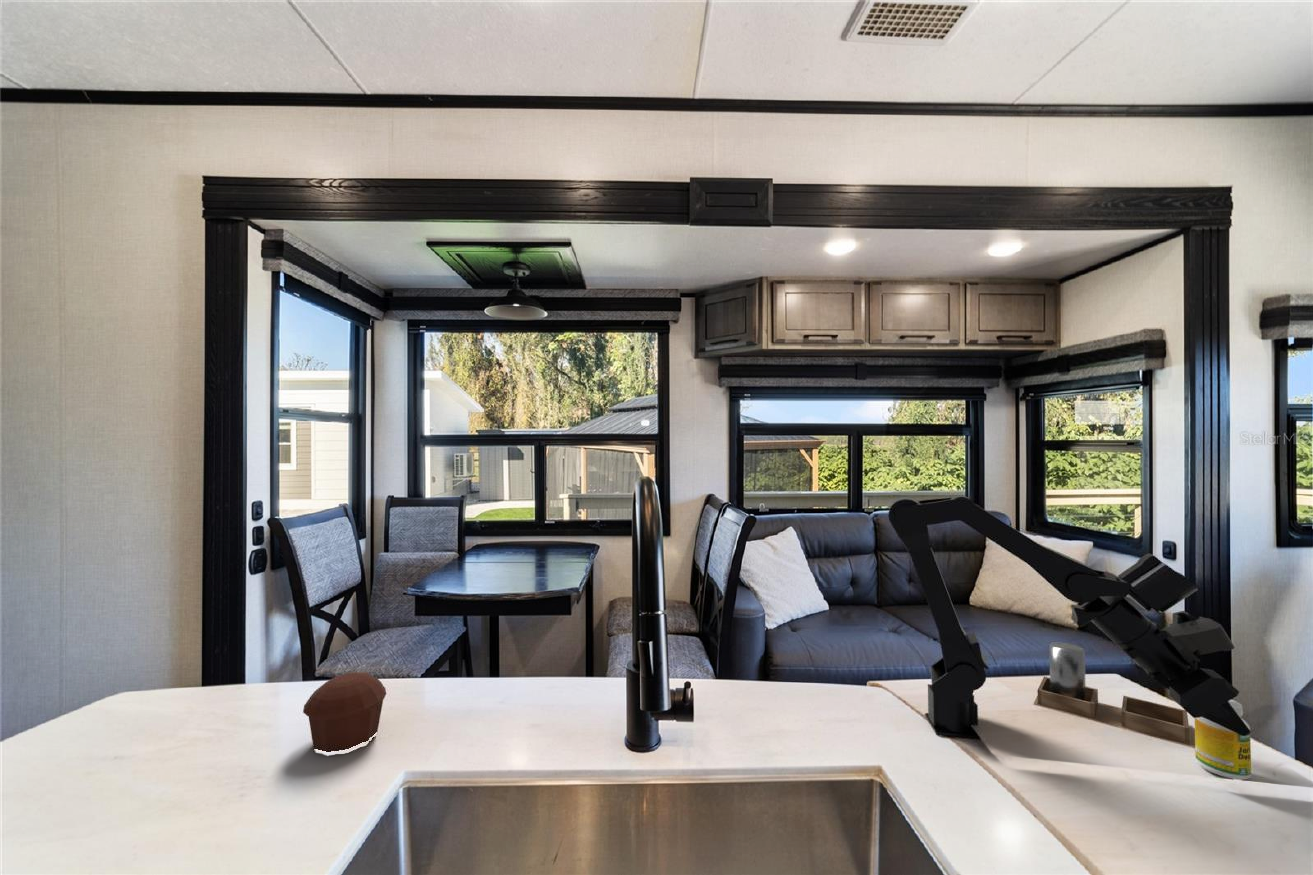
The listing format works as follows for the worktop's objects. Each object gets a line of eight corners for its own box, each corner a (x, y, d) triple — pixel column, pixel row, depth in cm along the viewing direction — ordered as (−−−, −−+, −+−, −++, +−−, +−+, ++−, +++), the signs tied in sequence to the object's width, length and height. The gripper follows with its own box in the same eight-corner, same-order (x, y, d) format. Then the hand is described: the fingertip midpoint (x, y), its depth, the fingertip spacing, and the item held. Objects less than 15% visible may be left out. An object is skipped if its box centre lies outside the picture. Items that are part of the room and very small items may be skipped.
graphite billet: (1060, 709, 91) (1058, 651, 92) (1044, 696, 96) (1043, 641, 97) (1092, 711, 90) (1091, 653, 91) (1075, 698, 95) (1074, 643, 96)
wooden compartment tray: (1192, 735, 86) (1191, 710, 86) (1195, 758, 79) (1194, 731, 79) (1041, 695, 100) (1040, 674, 100) (1033, 712, 93) (1032, 689, 93)
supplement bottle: (1200, 754, 77) (1199, 688, 77) (1255, 773, 73) (1253, 703, 73) (1190, 766, 74) (1189, 697, 74) (1247, 786, 70) (1245, 713, 70)
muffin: (351, 717, 91) (353, 659, 91) (401, 728, 87) (402, 668, 88) (283, 754, 80) (285, 688, 80) (337, 768, 76) (338, 699, 77)
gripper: (1215, 616, 67) (1343, 723, 62) (1156, 584, 84) (1253, 666, 79) (1136, 665, 71) (1252, 771, 66) (1094, 625, 87) (1184, 707, 82)
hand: (1235, 724), depth 73 cm, fingers closed on supplement bottle, 5 cm apart
